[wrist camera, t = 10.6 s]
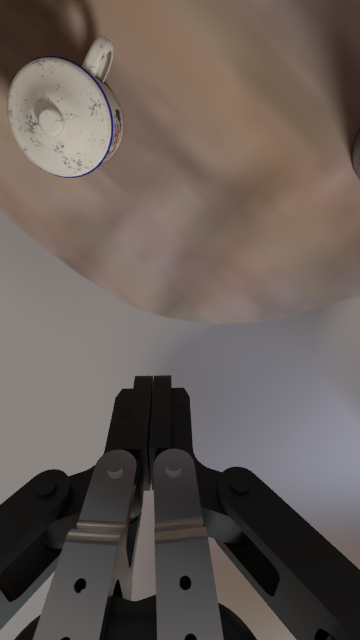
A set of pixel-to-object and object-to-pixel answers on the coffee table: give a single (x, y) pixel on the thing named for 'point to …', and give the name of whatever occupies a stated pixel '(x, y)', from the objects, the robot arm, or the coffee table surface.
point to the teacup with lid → (66, 112)
